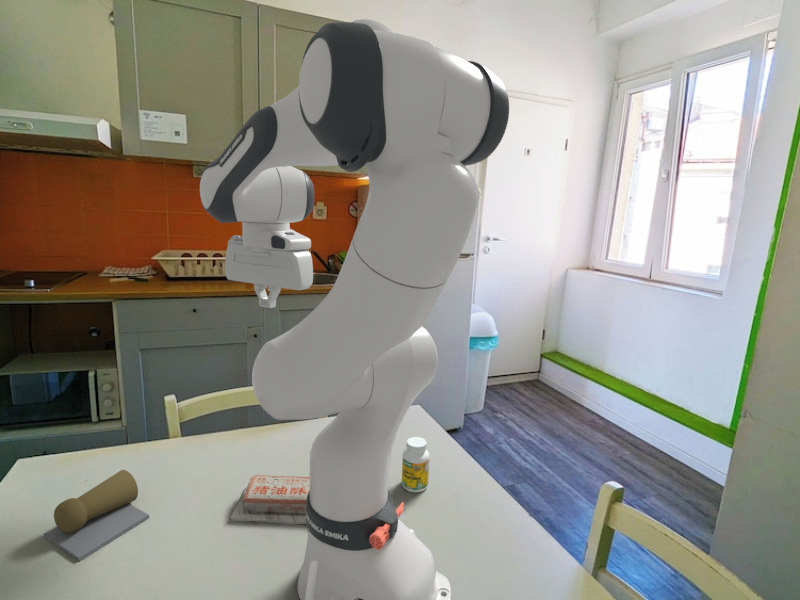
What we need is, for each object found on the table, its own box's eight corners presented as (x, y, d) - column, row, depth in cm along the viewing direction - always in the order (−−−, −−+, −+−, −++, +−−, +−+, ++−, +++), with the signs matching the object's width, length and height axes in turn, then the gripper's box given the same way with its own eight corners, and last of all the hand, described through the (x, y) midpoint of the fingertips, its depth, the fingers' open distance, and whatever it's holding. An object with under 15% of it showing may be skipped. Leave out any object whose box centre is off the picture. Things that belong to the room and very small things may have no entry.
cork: (128, 506, 79) (60, 545, 70) (112, 478, 80) (43, 512, 71) (142, 493, 77) (74, 531, 67) (125, 464, 78) (56, 497, 68)
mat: (149, 517, 75) (149, 514, 75) (79, 561, 65) (79, 557, 65) (114, 498, 79) (114, 495, 79) (44, 537, 70) (43, 533, 70)
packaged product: (341, 469, 84) (333, 503, 74) (340, 491, 85) (332, 528, 75) (248, 465, 84) (228, 499, 74) (249, 487, 85) (229, 523, 75)
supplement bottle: (431, 481, 89) (433, 438, 87) (423, 496, 84) (425, 451, 82) (406, 474, 91) (408, 432, 89) (397, 489, 86) (399, 445, 84)
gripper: (215, 234, 86) (218, 302, 89) (296, 241, 77) (296, 316, 80) (240, 234, 92) (241, 297, 95) (318, 240, 83) (317, 310, 86)
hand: (267, 306), depth 87 cm, fingers closed
